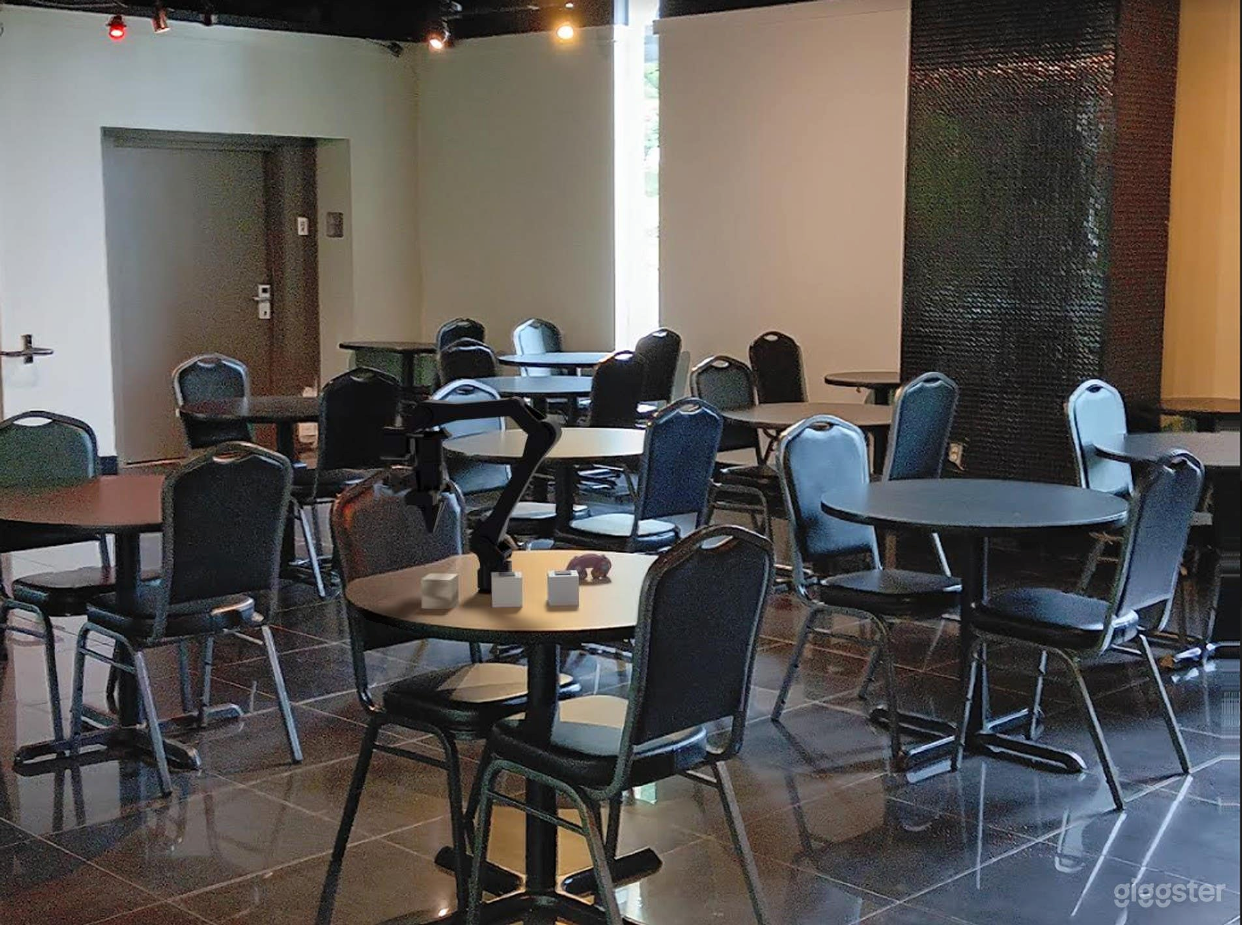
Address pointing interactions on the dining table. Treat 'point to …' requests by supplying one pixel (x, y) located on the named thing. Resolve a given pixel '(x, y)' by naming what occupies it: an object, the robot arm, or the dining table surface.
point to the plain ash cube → (439, 591)
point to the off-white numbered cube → (507, 589)
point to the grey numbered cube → (563, 587)
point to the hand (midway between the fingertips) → (430, 533)
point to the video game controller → (590, 565)
